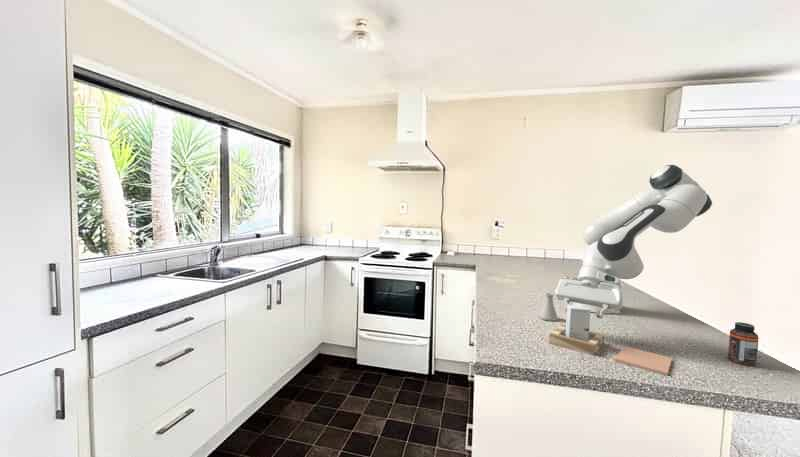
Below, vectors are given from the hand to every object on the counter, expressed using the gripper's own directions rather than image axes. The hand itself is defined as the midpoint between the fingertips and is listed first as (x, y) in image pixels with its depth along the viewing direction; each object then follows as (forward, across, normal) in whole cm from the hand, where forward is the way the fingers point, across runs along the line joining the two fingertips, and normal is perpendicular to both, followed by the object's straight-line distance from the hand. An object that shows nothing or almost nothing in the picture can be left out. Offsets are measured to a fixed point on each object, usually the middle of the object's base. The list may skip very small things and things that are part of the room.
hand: (582, 313), depth 112 cm
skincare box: (+9, -1, +5) cm, 10 cm away
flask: (-6, -16, +19) cm, 26 cm away
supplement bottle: (-6, +38, +19) cm, 43 cm away
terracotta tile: (+9, +17, +4) cm, 20 cm away
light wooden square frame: (+9, -1, +5) cm, 10 cm away
